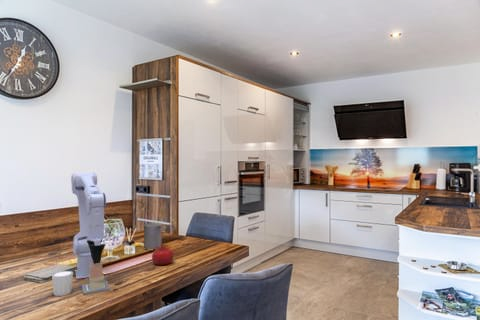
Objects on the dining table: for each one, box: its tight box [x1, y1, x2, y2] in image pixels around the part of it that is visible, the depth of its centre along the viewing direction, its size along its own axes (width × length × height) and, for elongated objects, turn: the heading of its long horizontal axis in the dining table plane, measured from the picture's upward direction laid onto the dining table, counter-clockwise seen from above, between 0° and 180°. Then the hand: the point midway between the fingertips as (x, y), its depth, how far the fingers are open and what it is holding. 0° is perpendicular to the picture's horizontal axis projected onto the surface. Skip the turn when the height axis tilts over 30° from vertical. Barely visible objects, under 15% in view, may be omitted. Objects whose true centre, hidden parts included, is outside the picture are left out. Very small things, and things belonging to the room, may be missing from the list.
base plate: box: [81, 280, 111, 296], centre depth 123 cm, size 10×9×1 cm
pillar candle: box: [143, 222, 163, 250], centre depth 182 cm, size 10×10×15 cm
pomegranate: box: [151, 244, 174, 266], centre depth 154 cm, size 10×10×9 cm
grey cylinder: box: [51, 271, 74, 297], centre depth 118 cm, size 7×7×7 cm
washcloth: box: [23, 263, 77, 284], centre depth 138 cm, size 12×18×3 cm, turn 158°
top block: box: [90, 262, 103, 278], centre depth 123 cm, size 4×4×4 cm
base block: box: [88, 272, 105, 290], centre depth 123 cm, size 5×5×4 cm
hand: (95, 260), depth 123 cm, fingers open, 7 cm apart
